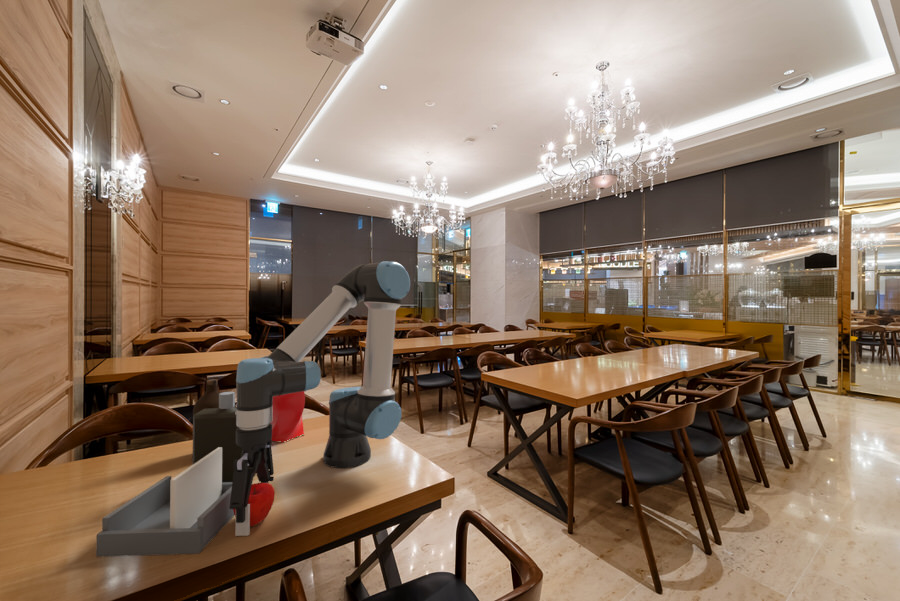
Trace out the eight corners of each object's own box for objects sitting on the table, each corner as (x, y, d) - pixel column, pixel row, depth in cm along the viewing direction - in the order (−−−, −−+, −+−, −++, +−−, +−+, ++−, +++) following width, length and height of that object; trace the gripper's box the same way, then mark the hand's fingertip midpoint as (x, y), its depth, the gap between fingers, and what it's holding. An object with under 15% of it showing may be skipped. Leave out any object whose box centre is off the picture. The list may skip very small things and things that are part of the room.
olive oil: (186, 461, 119) (187, 384, 119) (200, 448, 129) (201, 377, 129) (222, 458, 121) (223, 382, 121) (234, 446, 131) (234, 376, 132)
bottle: (251, 483, 104) (251, 395, 105) (188, 488, 101) (189, 397, 102) (260, 470, 112) (261, 389, 112) (202, 475, 109) (203, 391, 110)
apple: (262, 534, 81) (262, 499, 81) (222, 534, 82) (223, 498, 82) (281, 511, 90) (281, 479, 90) (245, 511, 90) (246, 479, 91)
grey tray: (249, 498, 96) (249, 472, 96) (199, 553, 75) (199, 519, 75) (169, 500, 95) (170, 473, 95) (96, 556, 74) (96, 521, 74)
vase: (280, 428, 150) (280, 360, 151) (313, 429, 149) (314, 360, 149) (257, 442, 135) (257, 366, 136) (294, 444, 134) (294, 367, 134)
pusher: (221, 498, 94) (222, 447, 94) (174, 542, 77) (175, 479, 77) (197, 498, 94) (198, 447, 94) (144, 543, 76) (145, 480, 76)
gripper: (259, 411, 97) (258, 497, 97) (210, 442, 75) (208, 553, 75) (288, 411, 97) (287, 496, 97) (247, 442, 75) (246, 552, 75)
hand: (253, 521), depth 86 cm, fingers open, 9 cm apart
